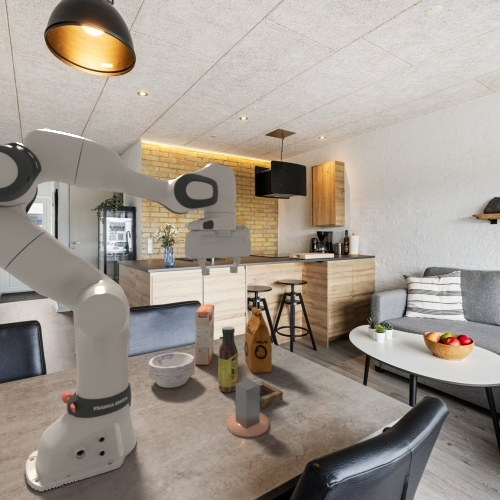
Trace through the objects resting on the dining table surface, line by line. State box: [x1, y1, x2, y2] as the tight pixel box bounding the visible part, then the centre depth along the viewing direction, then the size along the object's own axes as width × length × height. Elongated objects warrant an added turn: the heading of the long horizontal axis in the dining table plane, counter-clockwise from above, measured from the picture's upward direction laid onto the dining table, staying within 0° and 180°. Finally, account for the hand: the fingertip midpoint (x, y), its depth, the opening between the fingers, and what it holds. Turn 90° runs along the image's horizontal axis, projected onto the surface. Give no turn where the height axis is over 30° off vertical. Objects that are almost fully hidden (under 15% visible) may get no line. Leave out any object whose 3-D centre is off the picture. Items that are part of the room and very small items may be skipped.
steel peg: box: [235, 379, 261, 429], centre depth 87 cm, size 4×4×10 cm
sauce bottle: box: [217, 326, 239, 393], centre depth 107 cm, size 6×6×20 cm
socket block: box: [257, 381, 284, 411], centre depth 101 cm, size 9×9×2 cm
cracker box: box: [194, 304, 215, 366], centre depth 133 cm, size 14×6×21 cm, turn 179°
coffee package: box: [243, 306, 273, 374], centre depth 125 cm, size 10×12×22 cm
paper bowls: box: [148, 352, 196, 389], centre depth 112 cm, size 15×15×8 cm
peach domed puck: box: [226, 412, 270, 438], centre depth 87 cm, size 11×11×1 cm
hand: (220, 274), depth 92 cm, fingers open, 8 cm apart
